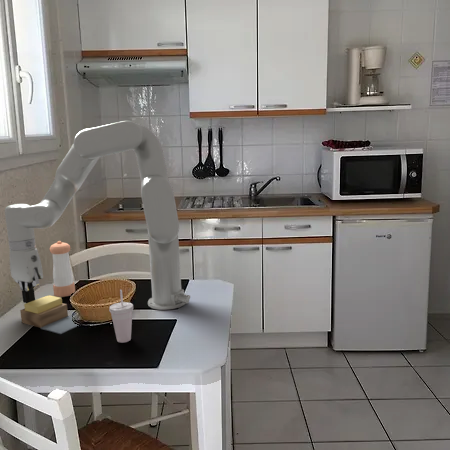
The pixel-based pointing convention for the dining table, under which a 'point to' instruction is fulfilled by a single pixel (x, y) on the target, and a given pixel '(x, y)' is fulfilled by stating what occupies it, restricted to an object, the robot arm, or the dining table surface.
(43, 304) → the pale yellow block
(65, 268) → the pepper shaker
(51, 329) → the mat
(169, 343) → the dining table surface
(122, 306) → the smoothie
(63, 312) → the block
